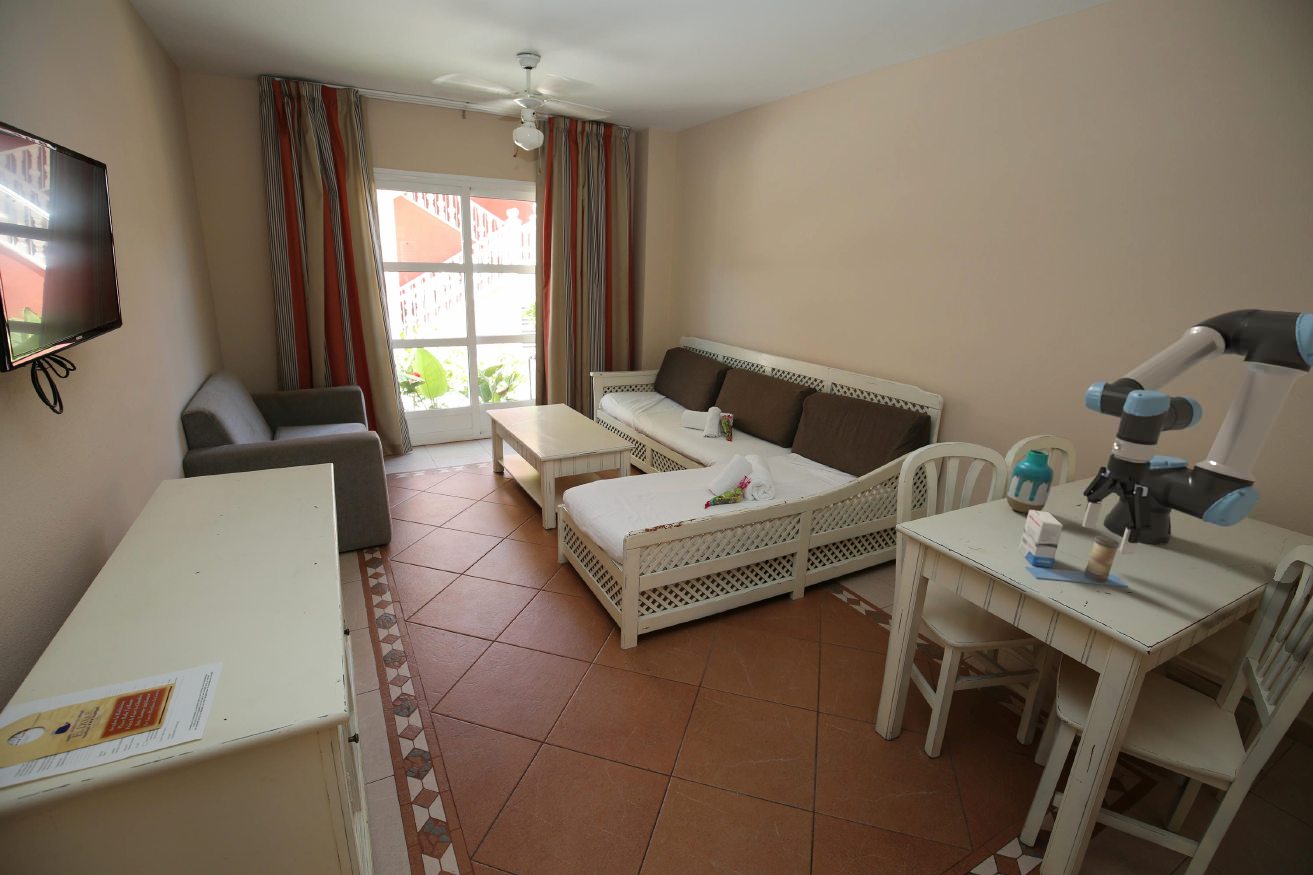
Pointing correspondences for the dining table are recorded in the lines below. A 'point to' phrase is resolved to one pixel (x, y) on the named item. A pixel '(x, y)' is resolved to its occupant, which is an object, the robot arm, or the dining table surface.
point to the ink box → (1040, 538)
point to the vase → (1030, 482)
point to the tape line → (1071, 576)
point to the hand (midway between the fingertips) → (1106, 539)
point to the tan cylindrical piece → (1101, 559)
